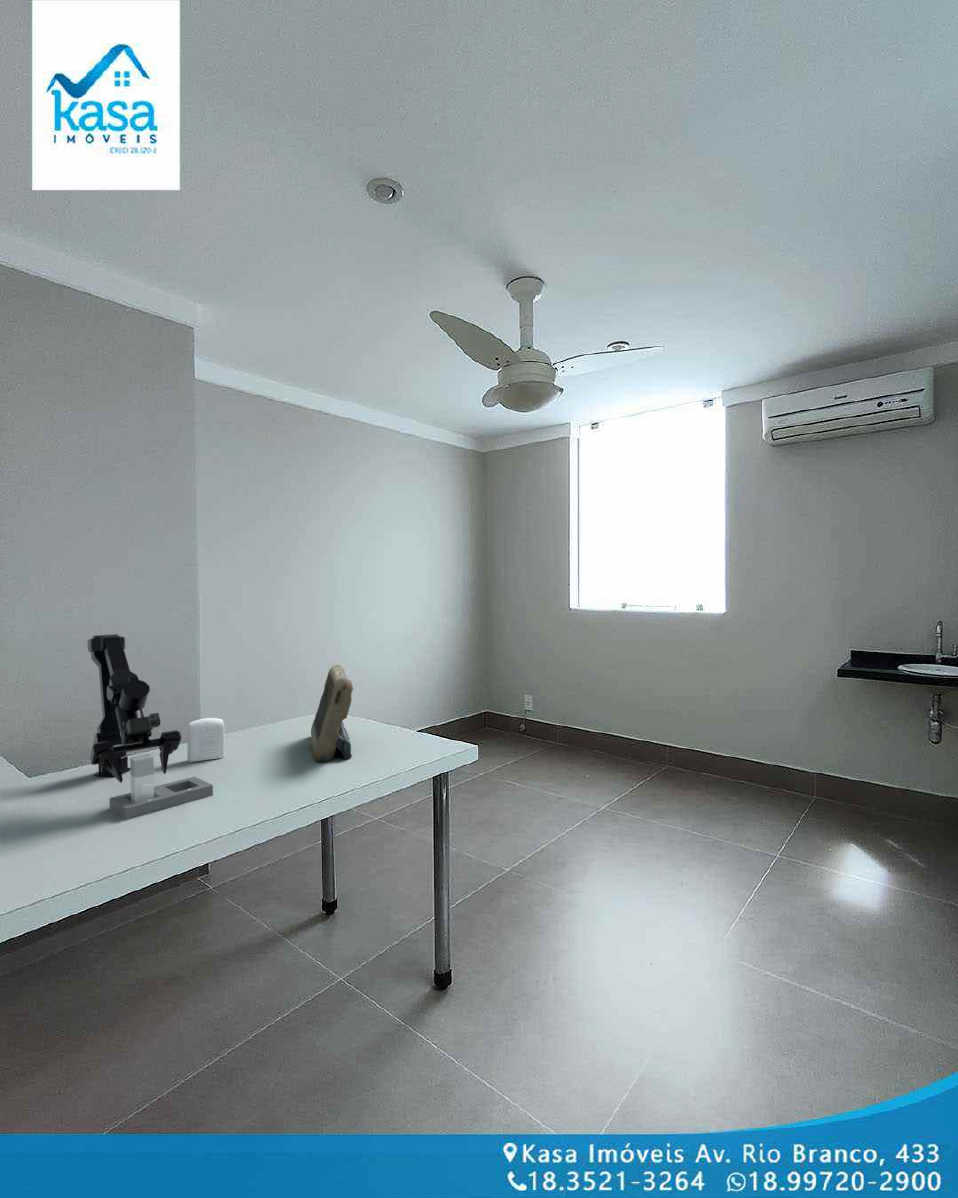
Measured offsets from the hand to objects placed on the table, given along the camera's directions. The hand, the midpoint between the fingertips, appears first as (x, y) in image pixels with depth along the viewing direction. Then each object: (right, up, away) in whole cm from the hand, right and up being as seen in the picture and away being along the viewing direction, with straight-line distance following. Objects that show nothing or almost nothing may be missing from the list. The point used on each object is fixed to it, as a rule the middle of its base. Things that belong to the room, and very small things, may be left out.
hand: (143, 777), depth 139 cm
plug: (-1, -8, +1) cm, 8 cm away
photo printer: (-3, -6, +39) cm, 39 cm away
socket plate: (+2, -7, +5) cm, 9 cm away
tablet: (+31, -6, +52) cm, 61 cm away
